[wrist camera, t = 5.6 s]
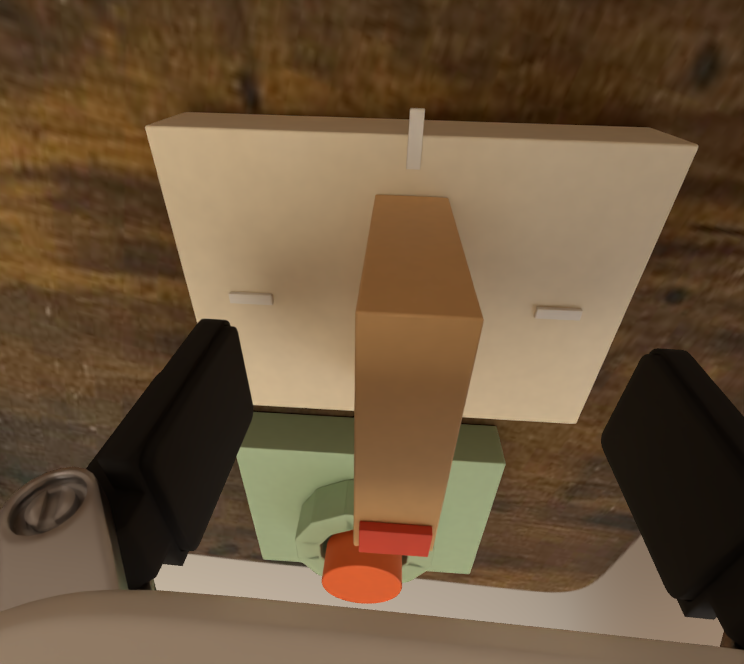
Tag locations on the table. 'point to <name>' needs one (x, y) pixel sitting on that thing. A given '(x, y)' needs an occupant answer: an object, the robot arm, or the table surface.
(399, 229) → the handle
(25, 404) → the table surface
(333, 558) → the button
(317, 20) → the table surface
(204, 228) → the panel
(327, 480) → the button block
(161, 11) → the table surface
